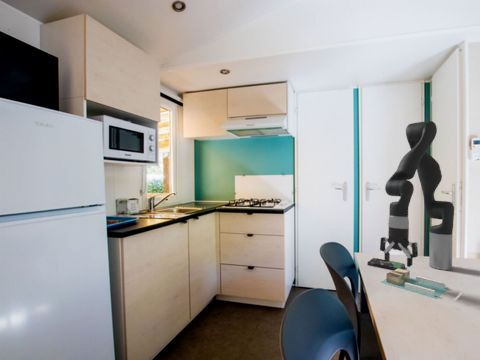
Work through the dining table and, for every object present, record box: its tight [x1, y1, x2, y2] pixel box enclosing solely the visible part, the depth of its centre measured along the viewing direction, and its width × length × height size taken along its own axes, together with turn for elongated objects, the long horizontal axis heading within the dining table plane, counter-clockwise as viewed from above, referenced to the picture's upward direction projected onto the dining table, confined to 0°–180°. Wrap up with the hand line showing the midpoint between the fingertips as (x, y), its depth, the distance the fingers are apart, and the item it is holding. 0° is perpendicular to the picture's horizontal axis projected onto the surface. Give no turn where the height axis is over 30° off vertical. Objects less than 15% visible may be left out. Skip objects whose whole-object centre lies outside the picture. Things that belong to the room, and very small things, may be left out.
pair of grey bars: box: [405, 275, 446, 297], centre depth 109 cm, size 13×10×2 cm
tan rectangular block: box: [385, 268, 411, 285], centre depth 117 cm, size 12×4×4 cm, turn 128°
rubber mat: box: [380, 277, 450, 300], centre depth 112 cm, size 16×20×1 cm
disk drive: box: [367, 257, 406, 271], centre depth 136 cm, size 10×3×15 cm
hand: (397, 263), depth 116 cm, fingers open, 8 cm apart
